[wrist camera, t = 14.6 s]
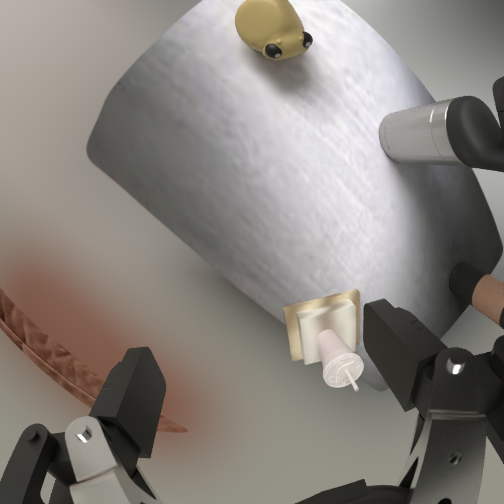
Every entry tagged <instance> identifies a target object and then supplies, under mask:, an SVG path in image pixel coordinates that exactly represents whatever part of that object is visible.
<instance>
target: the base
mask: <svg viewBox="0 0 504 504" xmlns="http://www.w3.org/2000/svg"><path fill="white" fill-rule="evenodd" d="M283 310H284V316H285V322H286V328H287V334H288V340H289V346H290V352H291V359H292V361H296V360H301V359H303V360H304V363H305V365H307V364H311V363H315V362H319V361H321V357H320V352H319V348H318V344H317V337H318V335H319V334H320V333H321V332H322V331H324V330H328V329H330V330H334V331H335V332H336V333H337V334H338V336H339V337H340V338H341V339H342V340H343V341H344V342H345V343H346V345H347V346H348V347H349V348H350V349H351V350H352V351H353V352H354V351H356V344H359V337H360V298H359V291H358V290H357V289H354V290H351V291H347V292H343V293H339V294H335V295H331V296H327V297H323V298H319V299H315V300H310V301H306V302H302V303H298V304H293V305H289V306H284V307H283Z"/></svg>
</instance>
